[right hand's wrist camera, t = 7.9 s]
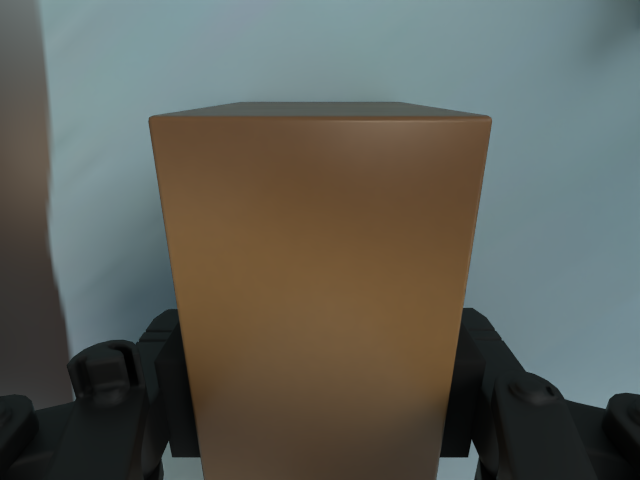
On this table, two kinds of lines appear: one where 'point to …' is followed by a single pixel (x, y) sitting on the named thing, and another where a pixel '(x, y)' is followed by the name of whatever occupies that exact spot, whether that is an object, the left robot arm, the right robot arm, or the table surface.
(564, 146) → the table surface
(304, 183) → the bar
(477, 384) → the right robot arm
